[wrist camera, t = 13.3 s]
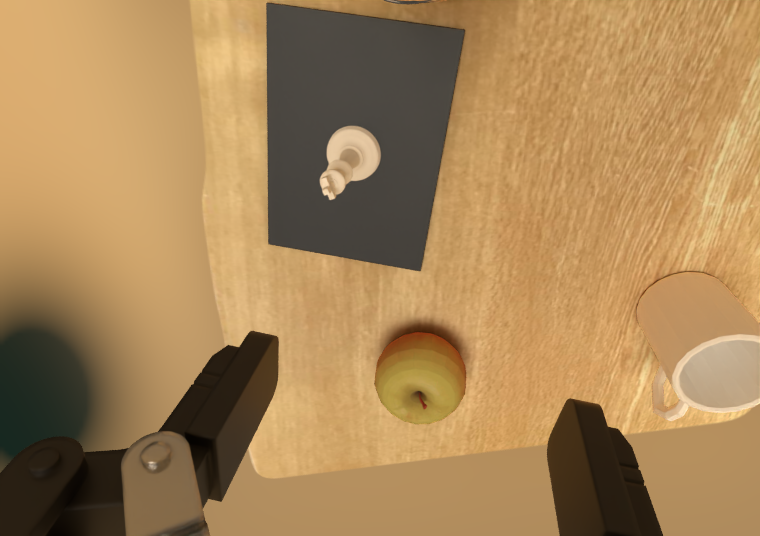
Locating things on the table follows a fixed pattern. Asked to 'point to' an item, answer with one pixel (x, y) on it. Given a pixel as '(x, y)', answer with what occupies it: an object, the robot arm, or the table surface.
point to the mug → (701, 345)
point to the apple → (420, 378)
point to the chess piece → (349, 159)
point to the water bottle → (412, 1)
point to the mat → (363, 109)
